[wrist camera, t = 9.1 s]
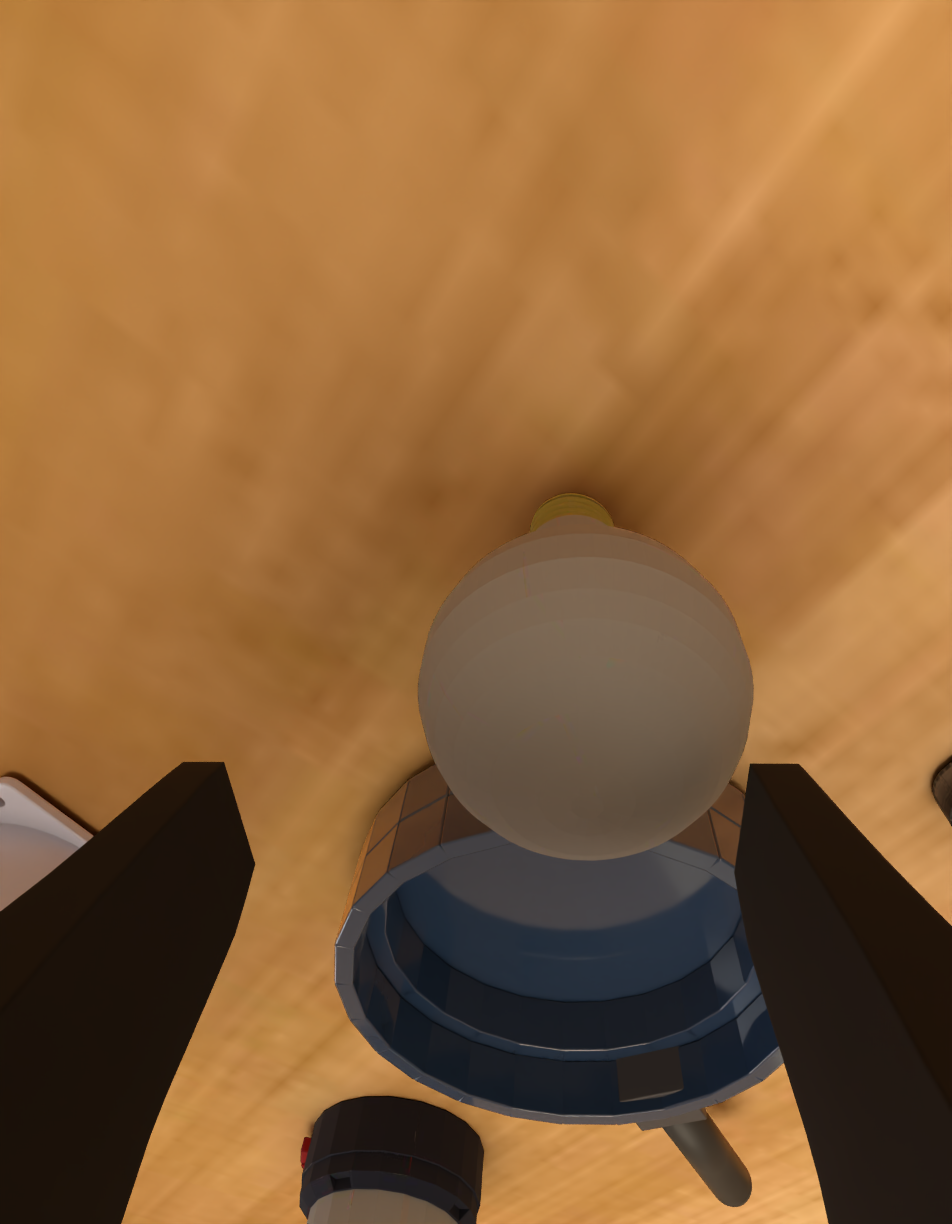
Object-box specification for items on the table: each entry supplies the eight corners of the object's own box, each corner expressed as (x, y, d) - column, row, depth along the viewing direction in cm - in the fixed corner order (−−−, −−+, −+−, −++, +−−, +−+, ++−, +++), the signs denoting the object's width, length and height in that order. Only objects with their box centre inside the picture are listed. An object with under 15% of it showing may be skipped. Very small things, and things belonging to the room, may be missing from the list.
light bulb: (564, 364, 17) (577, 552, 8) (728, 511, 18) (885, 803, 10) (421, 530, 19) (316, 809, 11) (576, 649, 21) (594, 982, 12)
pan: (527, 1052, 31) (524, 1162, 27) (279, 848, 26) (237, 950, 22) (859, 930, 25) (908, 1047, 22) (626, 645, 21) (641, 738, 17)
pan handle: (615, 1055, 27) (618, 1102, 25) (679, 1041, 26) (686, 1089, 25) (704, 1171, 30) (711, 1218, 29) (762, 1162, 30) (772, 1210, 28)
